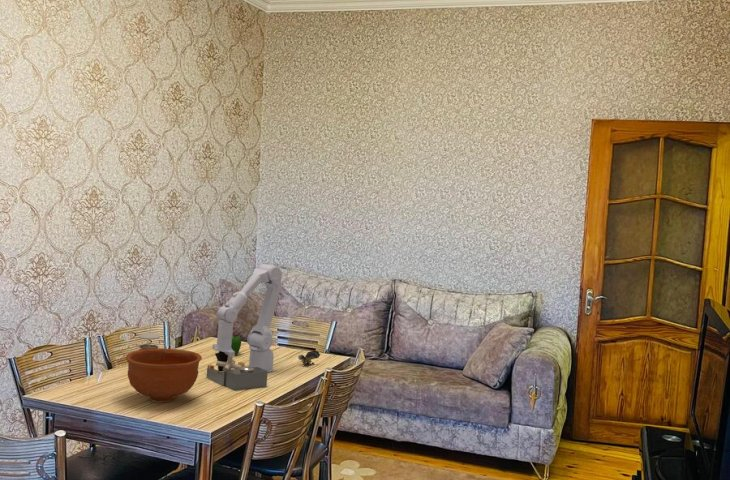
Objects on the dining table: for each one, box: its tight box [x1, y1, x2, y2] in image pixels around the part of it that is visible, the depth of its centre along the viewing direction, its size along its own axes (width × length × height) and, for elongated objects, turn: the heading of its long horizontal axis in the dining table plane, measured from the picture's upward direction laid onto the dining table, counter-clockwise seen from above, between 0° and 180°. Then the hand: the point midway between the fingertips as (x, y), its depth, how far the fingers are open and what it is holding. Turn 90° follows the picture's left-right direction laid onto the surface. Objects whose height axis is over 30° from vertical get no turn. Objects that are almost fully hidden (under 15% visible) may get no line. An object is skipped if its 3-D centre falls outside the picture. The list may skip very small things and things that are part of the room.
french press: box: [138, 307, 168, 350], centre depth 278 cm, size 10×12×25 cm
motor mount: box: [206, 361, 269, 391], centre depth 272 cm, size 15×20×7 cm
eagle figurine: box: [297, 349, 321, 366], centre depth 311 cm, size 8×7×9 cm
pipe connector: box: [215, 353, 242, 372], centre depth 277 cm, size 10×10×10 cm
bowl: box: [125, 347, 203, 403], centre depth 242 cm, size 25×25×15 cm
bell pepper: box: [231, 334, 242, 356], centre depth 320 cm, size 8×8×10 cm
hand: (221, 371), depth 281 cm, fingers closed, pressing on pipe connector
